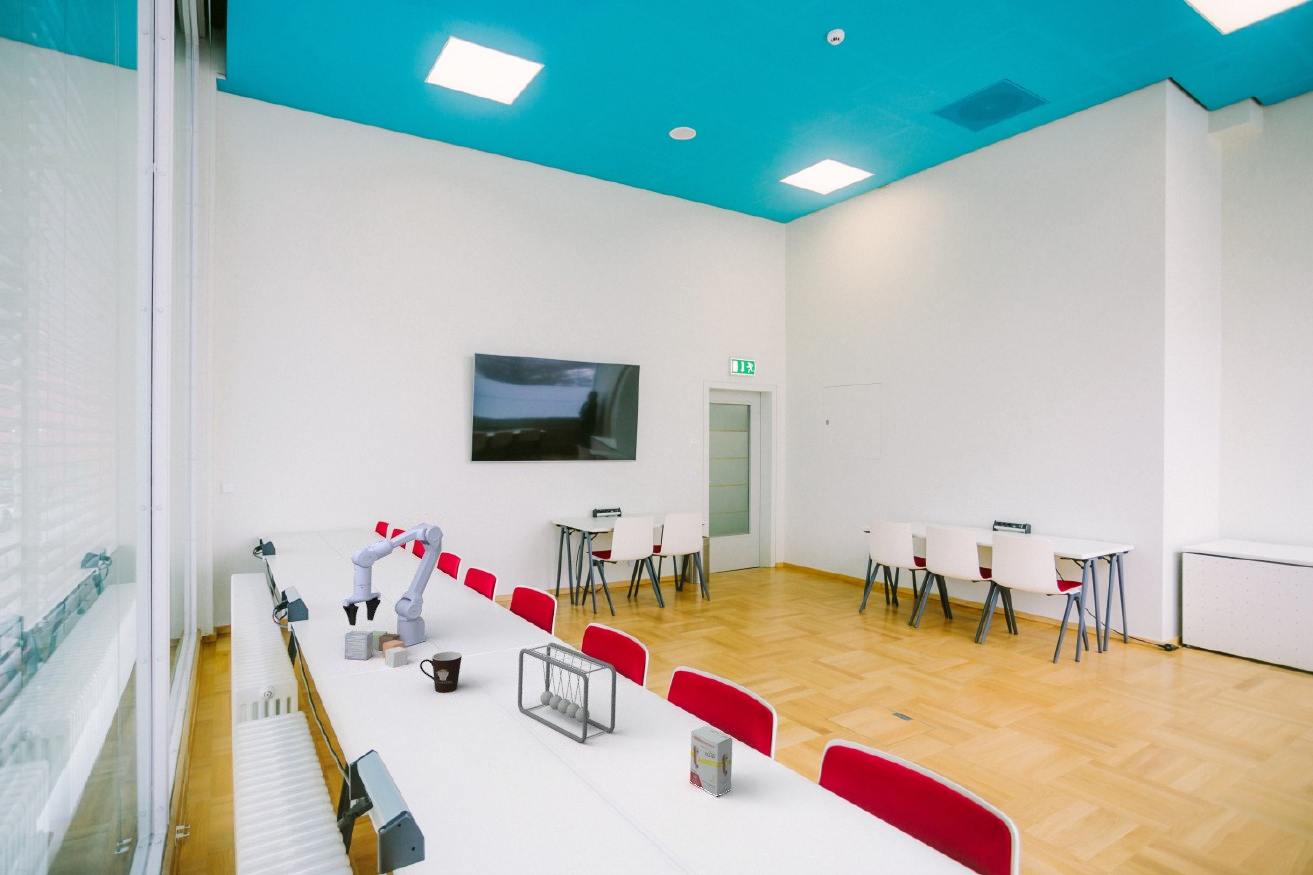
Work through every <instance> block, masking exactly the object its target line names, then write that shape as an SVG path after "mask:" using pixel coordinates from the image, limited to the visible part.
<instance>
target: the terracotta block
mask: <svg viewBox="0 0 1313 875" xmlns="http://www.w3.org/2000/svg"><path fill="white" fill-rule="evenodd" d="M395 647H402V648H405V649H406V647H405V642H402V641H398V640H393V641H389V642H386V643H383V651H382V659H385V654H386V650H387V649H391V648H395Z"/></svg>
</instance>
